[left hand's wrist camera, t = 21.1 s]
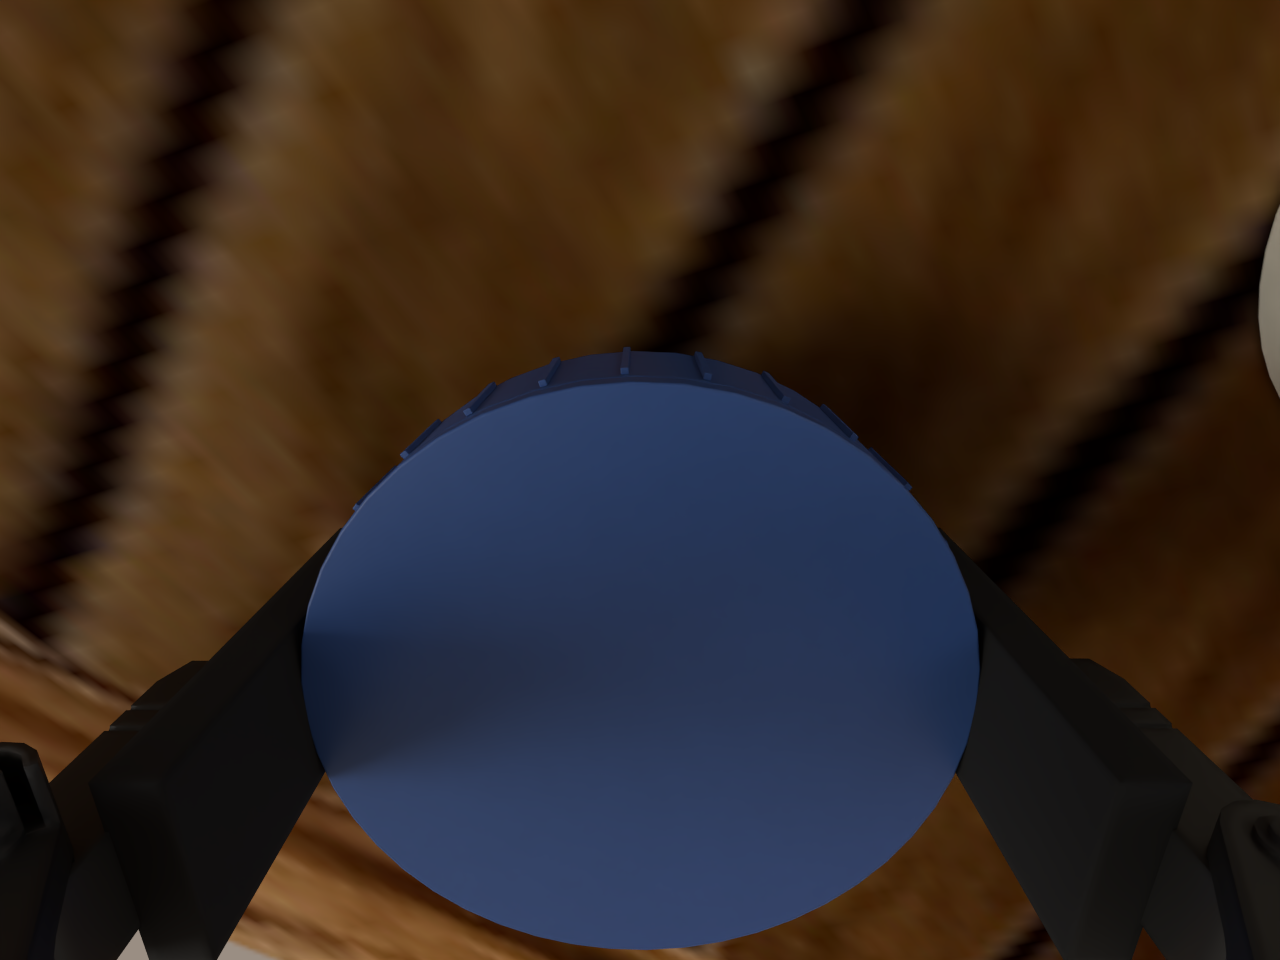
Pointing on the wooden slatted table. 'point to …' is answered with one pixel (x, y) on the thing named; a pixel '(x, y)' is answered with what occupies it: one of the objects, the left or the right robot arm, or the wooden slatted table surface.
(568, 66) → the wooden slatted table surface
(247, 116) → the wooden slatted table surface
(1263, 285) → the jar
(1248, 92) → the wooden slatted table surface
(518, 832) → the lid
